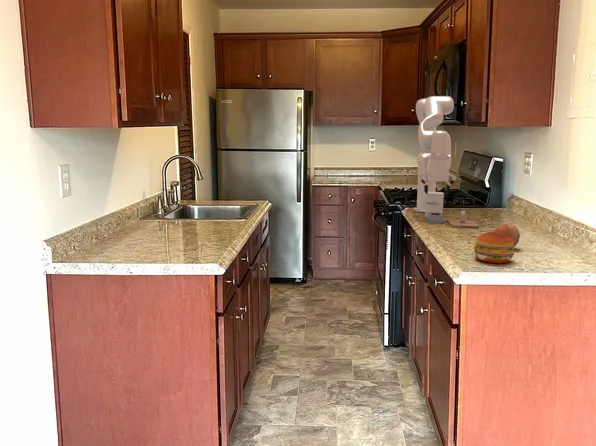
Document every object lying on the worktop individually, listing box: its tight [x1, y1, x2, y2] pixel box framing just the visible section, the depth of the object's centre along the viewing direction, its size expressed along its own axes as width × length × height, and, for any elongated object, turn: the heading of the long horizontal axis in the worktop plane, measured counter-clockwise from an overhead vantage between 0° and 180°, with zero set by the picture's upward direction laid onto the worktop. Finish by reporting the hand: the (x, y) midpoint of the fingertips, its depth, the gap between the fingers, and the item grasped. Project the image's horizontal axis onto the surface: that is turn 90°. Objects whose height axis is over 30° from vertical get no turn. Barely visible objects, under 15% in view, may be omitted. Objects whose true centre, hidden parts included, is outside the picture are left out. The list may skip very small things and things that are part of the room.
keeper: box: [446, 210, 480, 229], centre depth 258 cm, size 16×12×6 cm
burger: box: [473, 231, 515, 264], centre depth 191 cm, size 13×14×10 cm
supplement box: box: [424, 191, 445, 219], centre depth 277 cm, size 7×7×13 cm
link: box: [426, 212, 444, 225], centre depth 264 cm, size 8×6×4 cm
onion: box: [493, 222, 521, 248], centre depth 210 cm, size 10×10×10 cm
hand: (436, 193), depth 262 cm, fingers open, 9 cm apart
